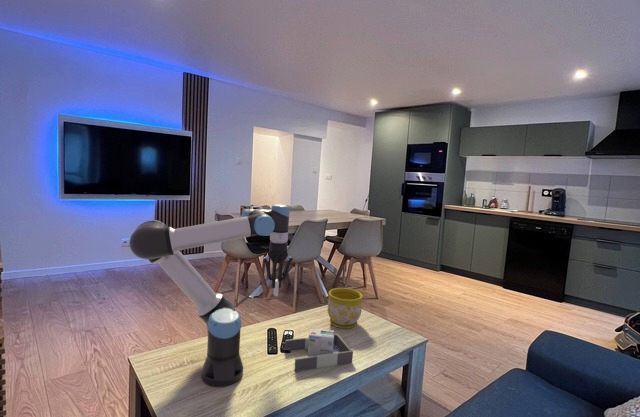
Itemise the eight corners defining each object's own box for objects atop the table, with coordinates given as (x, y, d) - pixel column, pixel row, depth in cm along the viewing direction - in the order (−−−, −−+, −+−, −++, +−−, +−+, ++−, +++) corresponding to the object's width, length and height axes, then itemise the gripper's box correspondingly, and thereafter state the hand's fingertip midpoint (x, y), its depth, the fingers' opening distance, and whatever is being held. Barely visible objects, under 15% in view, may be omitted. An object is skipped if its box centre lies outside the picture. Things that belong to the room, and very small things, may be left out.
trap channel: (295, 371, 130) (295, 359, 130) (284, 350, 144) (285, 340, 144) (352, 362, 139) (353, 351, 139) (336, 344, 154) (337, 333, 153)
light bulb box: (332, 353, 145) (334, 330, 144) (332, 362, 139) (334, 337, 138) (308, 350, 146) (310, 327, 145) (306, 359, 140) (308, 334, 138)
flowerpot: (343, 335, 163) (346, 303, 161) (319, 321, 176) (321, 291, 174) (367, 325, 175) (370, 295, 173) (342, 313, 188) (345, 285, 186)
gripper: (265, 243, 135) (262, 299, 137) (295, 243, 139) (292, 297, 142) (261, 239, 142) (259, 292, 144) (291, 239, 146) (288, 291, 149)
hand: (275, 294), depth 143 cm, fingers closed
